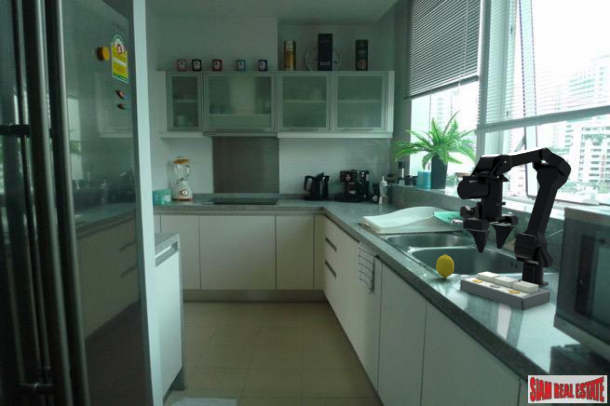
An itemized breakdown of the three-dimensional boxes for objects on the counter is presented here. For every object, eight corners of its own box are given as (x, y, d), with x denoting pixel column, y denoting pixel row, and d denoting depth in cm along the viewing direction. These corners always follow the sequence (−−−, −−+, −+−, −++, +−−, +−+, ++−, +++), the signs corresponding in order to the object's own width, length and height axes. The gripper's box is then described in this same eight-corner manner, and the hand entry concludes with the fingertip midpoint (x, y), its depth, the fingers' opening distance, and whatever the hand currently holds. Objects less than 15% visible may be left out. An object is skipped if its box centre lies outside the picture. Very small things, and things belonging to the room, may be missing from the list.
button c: (522, 289, 106) (522, 280, 105) (538, 294, 102) (538, 285, 102) (512, 292, 103) (512, 283, 103) (528, 296, 100) (528, 287, 99)
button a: (486, 279, 115) (487, 271, 115) (500, 283, 111) (500, 275, 111) (477, 281, 113) (477, 273, 113) (490, 285, 109) (490, 277, 109)
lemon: (449, 275, 126) (450, 252, 125) (456, 280, 121) (457, 256, 120) (433, 276, 126) (433, 252, 125) (439, 281, 121) (440, 256, 120)
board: (485, 283, 118) (486, 273, 118) (549, 302, 101) (550, 290, 101) (460, 289, 112) (460, 278, 112) (522, 310, 96) (523, 297, 95)
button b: (503, 284, 110) (503, 276, 110) (518, 288, 107) (518, 279, 106) (494, 286, 108) (494, 278, 108) (508, 291, 104) (509, 282, 104)
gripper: (485, 194, 121) (483, 242, 123) (447, 198, 111) (446, 250, 113) (520, 196, 112) (518, 248, 113) (481, 200, 102) (480, 257, 103)
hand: (490, 250), depth 111 cm, fingers open, 9 cm apart
